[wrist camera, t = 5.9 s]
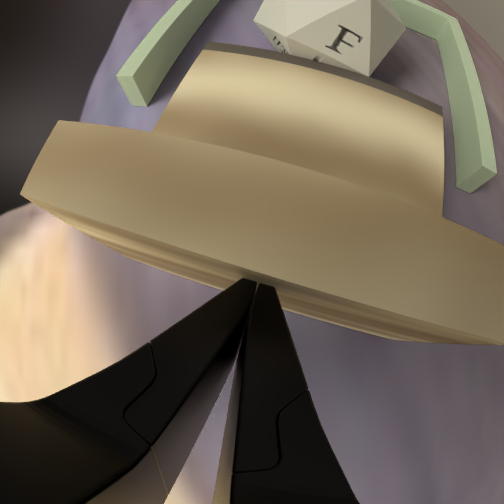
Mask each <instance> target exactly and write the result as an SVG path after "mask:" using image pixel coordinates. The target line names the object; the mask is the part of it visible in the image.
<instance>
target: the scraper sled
mask: <svg viewBox="0 0 504 504" xmlns="http://www.w3.org/2000/svg"><path fill="white" fill-rule="evenodd" d="M443 193H444V133H443V115H442V107H441V106H439V105H437V104H435V103H432V102H430V101H428V100H426V99H424V98H422V97H419V96H417V95H415V94H412V93H410V92H408V91H405V90H403V89H400V88H398V87H395V86H393V85H390V84H388V83H385V82H382V81H380V80H377V79H374V78H371V77H368V76H365V75H362V74H359V73H356V72H353V71H350V70H346V69H343V68H340V67H336V66H333V65H329V64H326V63H322V62H319V61H315V60H310V59H306V58H302V57H298V56H293V55H290V54H285V53H280V52H275V51H270V50H265V49H259V48H253V47H246V46H239V45H232V44H224V43H215V42H208V43H207V44H206V46H205V47H204V49H203V50H202V51H201V53H200V54H199V56H198V57H197V59H196V60H195V62H194V63H193V65H192V66H191V68H190V69H189V71H188V72H187V74H186V76H185V77H184V79H183V80H182V82H181V83H180V85H179V87H178V88H177V90H176V92H175V93H174V95H173V96H172V98H171V100H170V101H169V103H168V105H167V107H166V108H165V110H164V112H163V114H162V115H161V117H160V119H159V121H158V122H157V124H156V126H155V128H154V130H153V132H146V131H140V130H134V129H127V128H120V127H113V126H106V125H98V124H90V123H81V122H71V121H61V120H59V121H58V122H57V125H56V126H55V127H54V129H53V131H52V133H51V134H50V136H49V138H48V139H47V141H46V143H45V145H44V147H43V148H42V150H41V152H40V154H39V156H38V158H37V160H36V162H35V164H34V166H33V168H32V170H31V172H30V174H29V176H28V178H27V180H26V182H25V184H24V186H23V189H22V191H21V193H20V195H22V196H23V197H25V198H26V199H28V200H30V201H31V202H33V203H34V204H36V205H38V206H39V207H41V208H43V209H44V210H46V211H47V212H49V213H51V214H52V215H54V216H56V217H57V218H59V219H61V220H62V221H64V222H66V223H67V224H69V225H71V226H72V227H74V228H76V229H78V230H79V231H81V232H83V233H84V234H86V235H88V236H90V237H91V238H93V239H95V240H97V241H98V242H100V243H102V244H104V245H106V246H107V247H109V248H111V249H113V250H115V251H116V252H118V253H120V254H122V255H124V256H126V257H127V258H130V259H133V260H135V261H138V262H141V263H144V264H146V265H149V266H152V267H155V268H158V269H161V270H163V271H166V272H169V273H172V274H175V275H178V276H181V277H184V278H187V279H190V280H193V281H195V282H198V283H201V284H204V285H207V286H211V287H214V288H217V289H220V290H223V291H224V290H225V289H227V288H228V287H230V286H231V285H232V284H234V283H235V282H237V281H238V280H240V279H241V278H246V279H249V280H253V281H256V282H257V287H258V285H259V284H260V283H263V284H266V285H269V286H273V287H275V289H276V291H277V294H278V297H279V300H280V303H281V306H282V309H284V310H287V311H290V312H294V313H297V314H300V315H304V316H307V317H311V318H314V319H318V320H321V321H325V322H328V323H332V324H336V325H339V326H343V327H346V328H350V329H354V330H357V331H361V332H365V333H369V334H372V335H376V336H380V337H384V338H388V339H392V340H402V341H415V342H430V343H447V344H472V345H504V245H502V244H500V243H498V242H496V241H494V240H492V239H490V238H488V237H486V236H483V235H481V234H479V233H477V232H475V231H473V230H471V229H468V228H466V227H464V226H462V225H459V224H457V223H455V222H453V221H450V220H448V219H446V218H443V217H442V211H443ZM256 290H257V289H256Z"/></svg>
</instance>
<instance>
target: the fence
mask: <svg viewBox="0 0 504 504" xmlns="http://www.w3.org/2000/svg"><path fill="white" fill-rule="evenodd" d="M219 1H220V0H178V1H177V2H176V3H175V4H174V5H173V6H172V7H171V8H170V9H169V10H168V12H167V13H166V14H165V15H164V16H163V17H162V18H161V19H160V20H159V22H158V23H157V24H156V25H155V26H154V27H153V29H152V30H151V31H150V32H149V33H148V35H147V36H146V37H145V38H144V39H143V41H142V42H141V43H140V44H139V46H138V47H137V48H136V50H135V51H134V52H133V53H132V55H131V56H130V57H129V59H128V60H127V61H126V63H125V64H124V66H123V67H122V68H121V70H120V71H119V73H118V74H117V75H116V77H117V79H118V80H119V82H120V84H121V86H122V88H123V90H124V92H125V94H126V95H127V97H128V99H129V101H130V103H131V105H133V106H144V107H147V106H148V104H149V103H150V101H151V99H152V97H153V96H154V94H155V92H156V91H157V89H158V87H159V86H160V84H161V82H162V81H163V79H164V78H165V76H166V75H167V73H168V71H169V70H170V68H171V67H172V65H173V64H174V62H175V61H176V59H177V58H178V56H179V55H180V53H181V52H182V50H183V49H184V47H185V46H186V45H187V43H188V42H189V40H190V39H191V38H192V36H193V35H194V33H195V32H196V31H197V29H198V28H199V27H200V25H201V24H202V23H203V21H204V20H205V19H206V17H207V16H208V15H209V14H210V12H211V11H212V10H213V9H214V7H215V6H216V5H217V4H218V2H219ZM388 1H389V2H390V4H391V5H392V7H393V8H394V10H395V11H396V13H397V14H398V16H399V17H400V19H401V21H402V22H403V24H404V25H405V27H407V28H409V29H412V30H414V31H417V32H419V33H421V34H424V35H426V36H428V37H431V38H433V39H435V40H437V42H438V46H439V50H440V54H441V59H442V63H443V68H444V73H445V78H446V84H447V90H448V96H449V102H450V109H451V117H452V126H453V136H454V148H455V164H456V187H457V188H459V189H461V190H464V191H466V192H468V193H472V192H473V191H474V190H476V189H477V188H479V187H480V186H481V185H483V184H484V183H485V182H487V181H488V180H489V179H491V178H492V177H493V176H495V175H496V174H497V169H496V161H495V154H494V147H493V141H492V135H491V130H490V125H489V120H488V115H487V111H486V106H485V102H484V98H483V94H482V90H481V87H480V83H479V79H478V76H477V73H476V69H475V66H474V63H473V60H472V57H471V54H470V51H469V49H468V46H467V43H466V40H465V38H464V35H463V33H462V30H461V28H460V25H459V23H458V21H457V19H456V18H454V17H452V16H450V15H448V14H446V13H444V12H442V11H439V10H437V9H435V8H433V7H431V6H429V5H426V4H424V3H422V2H419V1H417V0H388Z"/></svg>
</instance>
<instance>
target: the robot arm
mask: <svg viewBox="0 0 504 504" xmlns="http://www.w3.org/2000/svg"><path fill="white" fill-rule="evenodd" d="M256 289H257V290H256ZM241 341H242V342H241ZM240 344H241V346H240ZM239 348H240V350H239ZM238 351H239V354H238ZM237 354H238V358H237V362H236V367H235V372H234V378H233V384H232V390H231V396H230V402H229V407H228V413H227V419H226V425H225V431H224V437H223V443H222V449H221V455H220V461H219V467H218V472H217V478H216V484H215V490H214V496H213V502H212V504H360V503H359V502H358V500H357V499H356V497H355V495H354V493H353V491H352V489H351V487H350V485H349V483H348V481H347V479H346V477H345V475H344V473H343V471H342V469H341V467H340V464H339V462H338V460H337V458H336V456H335V454H334V452H333V450H332V448H331V446H330V444H329V441H328V439H327V437H326V435H325V432H324V430H323V428H322V426H321V423H320V421H319V418H318V415H317V412H316V409H315V407H314V404H313V401H312V398H311V394H310V391H309V390H308V386H307V383H306V380H305V376H304V373H303V370H302V367H301V364H300V361H299V358H298V355H297V352H296V349H295V346H294V343H293V340H292V337H291V334H290V331H289V328H288V325H287V322H286V319H285V316H284V312H283V309H282V306H281V303H280V300H279V297H278V294H277V291H276V289H275V287H273V286H269V285H266V284H263V283H260V284H259V285H258V287H257V282H256V281H253V280H249V279H246V278H241V279H240V280H238V281H237V282H235V283H234V284H232V285H231V286H230V287H228V288H227V289H225V290H224V291H222V292H221V293H220V294H218V295H217V296H215V297H214V298H212V299H211V300H209V301H208V302H206V303H205V304H204V305H202V306H201V307H199V308H198V309H196V310H195V311H193V312H192V313H190V314H189V315H188V316H186V317H185V318H183V319H182V320H180V321H179V322H177V323H176V324H174V325H173V326H171V327H170V328H169V329H167V330H166V331H164V332H163V333H161V334H160V335H158V336H157V337H155V338H154V339H152V340H151V341H150V343H146V344H145V345H143V346H142V347H140V348H139V349H137V350H136V351H134V352H133V353H131V354H129V355H128V356H126V357H125V358H123V359H121V360H120V361H118V362H116V363H114V364H113V365H111V366H109V367H107V368H105V369H103V370H101V371H99V372H98V373H96V374H94V375H91V376H89V377H87V378H85V379H83V380H81V381H79V382H77V383H75V384H73V385H71V386H69V387H67V388H65V389H63V390H61V391H58V392H56V393H54V394H52V395H50V396H47V397H45V398H42V399H39V400H34V401H30V402H0V504H164V502H165V500H166V498H167V496H168V494H169V493H170V491H171V489H172V487H173V485H174V483H175V481H176V479H177V477H178V475H179V473H180V472H181V470H182V468H183V466H184V464H185V462H186V460H187V458H188V456H189V454H190V452H191V450H192V448H193V446H194V444H195V442H196V440H197V438H198V436H199V434H200V432H201V430H202V428H203V426H204V424H205V422H206V420H207V418H208V416H209V414H210V412H211V410H212V408H213V406H214V404H215V402H216V400H217V398H218V396H219V394H220V392H221V390H222V388H223V386H224V384H225V382H226V379H227V377H228V375H229V373H230V371H231V369H232V367H233V364H234V362H235V360H236V357H237Z"/></svg>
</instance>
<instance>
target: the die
mask: <svg viewBox="0 0 504 504" xmlns="http://www.w3.org/2000/svg"><path fill="white" fill-rule="evenodd" d="M253 21H254V22H255V23H256V24H257V26H258V27H259V28H260V29H261V31H262V32H263V33H264V34H265V36H266V37H267V38H268V40H269V41H270V42H271V44H272V45H273V46H274V47H275V49H276V50H277V51H278V52H280V53H285V54H290V55H293V56H298V57H302V58H306V59H310V60H315V61H319V62H322V63H326V64H329V65H333V66H336V67H340V68H343V69H346V70H350V71H353V72H356V73H359V74H362V75H365V76H368V77H369V76H370V75H371V74H372V73H373V71H374V70H375V69H376V67H377V66H378V65H379V64H380V62H381V61H382V60H383V58H384V57H385V56H386V54H387V53H388V52H389V51H390V49H391V48H392V47H393V45H394V44H395V43H396V42H397V40H398V39H399V38H400V37H401V35H402V34H403V33H404V31H405V30H406V27H405V25H404V24H403V22H402V21H401V19H400V17H399V16H398V14H397V13H396V11H395V10H394V8H393V7H392V5H391V4H390V2H389V1H388V0H264V1H263V3H262V5H261V7H260V9H259V11H258V13H257V15H256V17H255V18H254V20H253Z"/></svg>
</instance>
